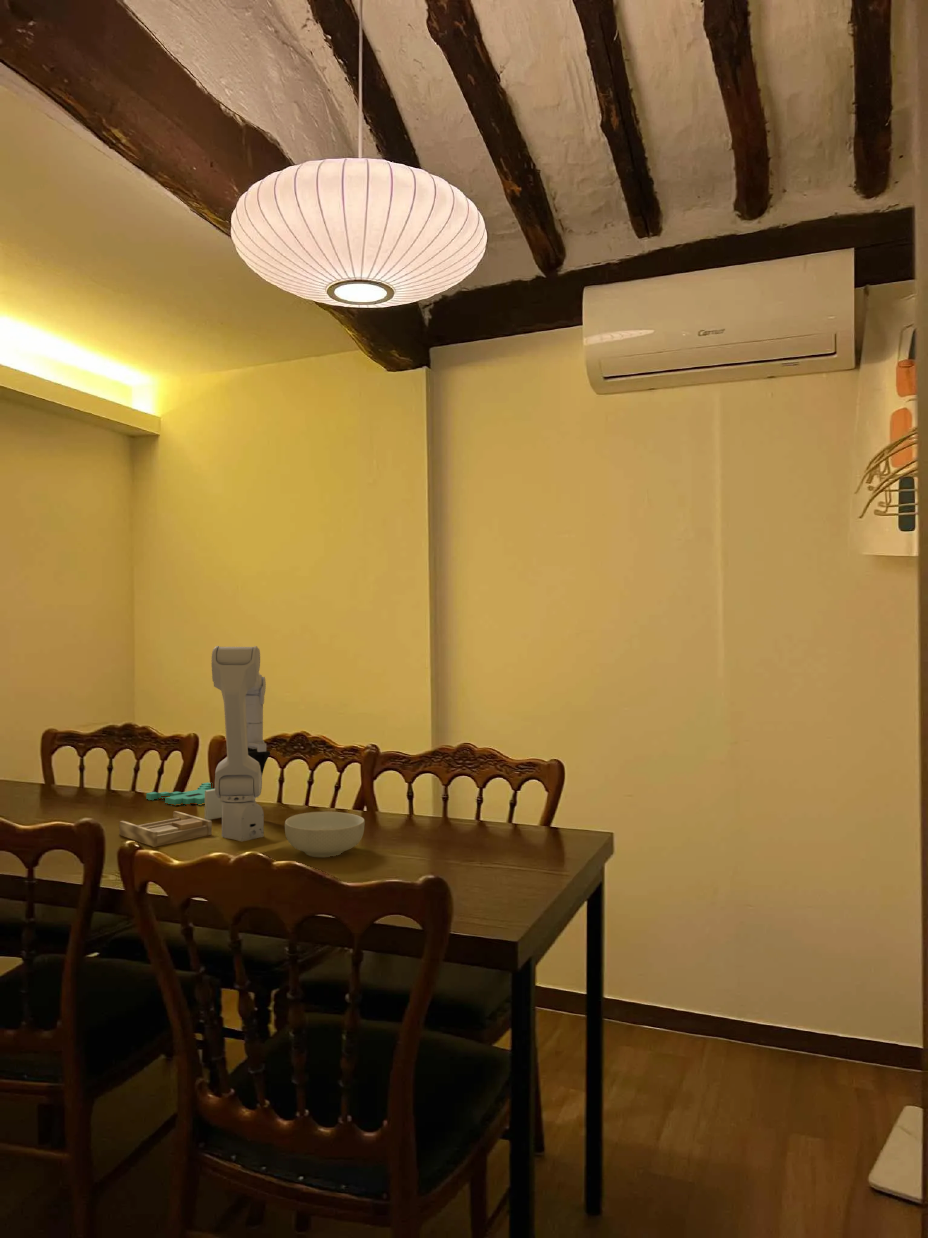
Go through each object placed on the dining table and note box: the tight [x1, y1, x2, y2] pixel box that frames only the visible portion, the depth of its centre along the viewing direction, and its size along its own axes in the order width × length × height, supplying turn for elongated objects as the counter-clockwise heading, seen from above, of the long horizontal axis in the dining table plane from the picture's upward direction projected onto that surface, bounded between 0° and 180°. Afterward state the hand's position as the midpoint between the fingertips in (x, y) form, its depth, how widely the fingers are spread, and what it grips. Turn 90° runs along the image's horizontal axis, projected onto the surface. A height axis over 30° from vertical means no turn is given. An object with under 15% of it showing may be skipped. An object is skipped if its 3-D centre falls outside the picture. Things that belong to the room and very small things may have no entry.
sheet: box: [204, 788, 222, 821], centre depth 208 cm, size 1×10×8 cm, turn 139°
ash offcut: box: [150, 825, 178, 835], centre depth 185 cm, size 4×5×2 cm
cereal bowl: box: [284, 811, 366, 858], centre depth 179 cm, size 17×17×7 cm
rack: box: [118, 810, 213, 848], centre depth 189 cm, size 15×14×4 cm
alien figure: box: [145, 782, 215, 805], centre depth 233 cm, size 20×2×20 cm
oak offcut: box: [172, 818, 202, 831], centre depth 189 cm, size 4×5×3 cm
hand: (250, 777), depth 209 cm, fingers open, 7 cm apart
